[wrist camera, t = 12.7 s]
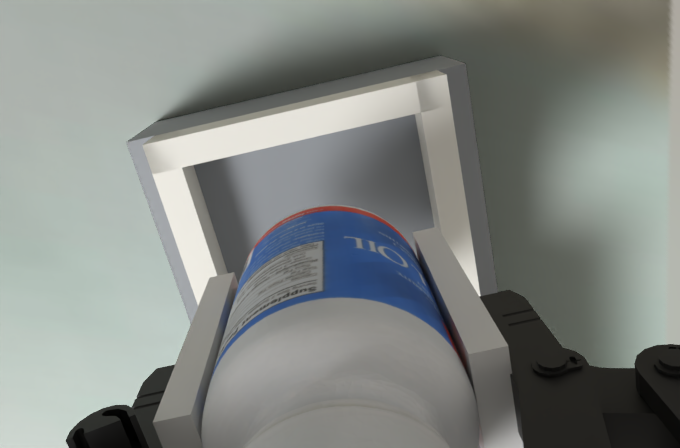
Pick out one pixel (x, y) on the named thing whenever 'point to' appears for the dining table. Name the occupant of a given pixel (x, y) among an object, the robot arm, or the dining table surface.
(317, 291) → the pill bottle
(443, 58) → the grey compartment organizer
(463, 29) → the dining table surface
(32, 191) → the dining table surface
